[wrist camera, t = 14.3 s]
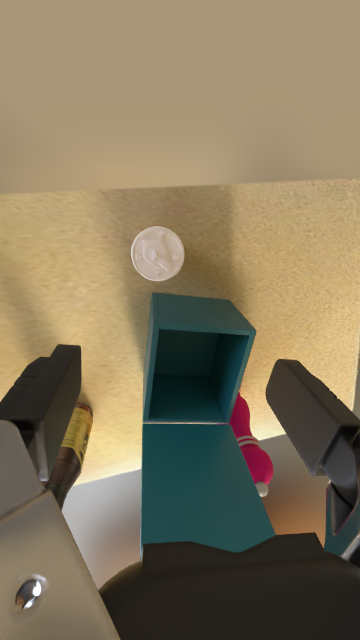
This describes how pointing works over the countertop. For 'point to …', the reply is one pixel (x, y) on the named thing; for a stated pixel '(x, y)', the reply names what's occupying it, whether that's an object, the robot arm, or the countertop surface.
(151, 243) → the smoothie
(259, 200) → the countertop surface
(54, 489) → the sauce bottle
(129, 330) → the countertop surface
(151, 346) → the cool box
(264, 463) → the pepper mill
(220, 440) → the lid
